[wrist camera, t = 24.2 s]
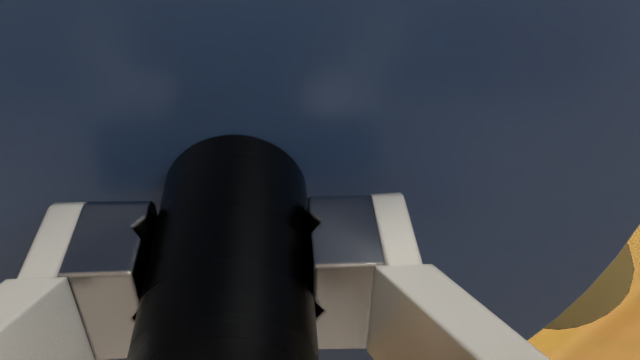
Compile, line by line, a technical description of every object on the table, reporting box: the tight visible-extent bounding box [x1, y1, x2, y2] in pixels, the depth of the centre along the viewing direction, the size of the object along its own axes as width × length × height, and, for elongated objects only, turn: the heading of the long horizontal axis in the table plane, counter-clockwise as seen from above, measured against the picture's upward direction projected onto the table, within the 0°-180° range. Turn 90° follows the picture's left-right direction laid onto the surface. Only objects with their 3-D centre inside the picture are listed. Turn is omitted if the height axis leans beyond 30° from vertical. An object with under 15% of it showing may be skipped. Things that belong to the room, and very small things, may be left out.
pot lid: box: [0, 0, 640, 360], centre depth 9 cm, size 15×15×6 cm
